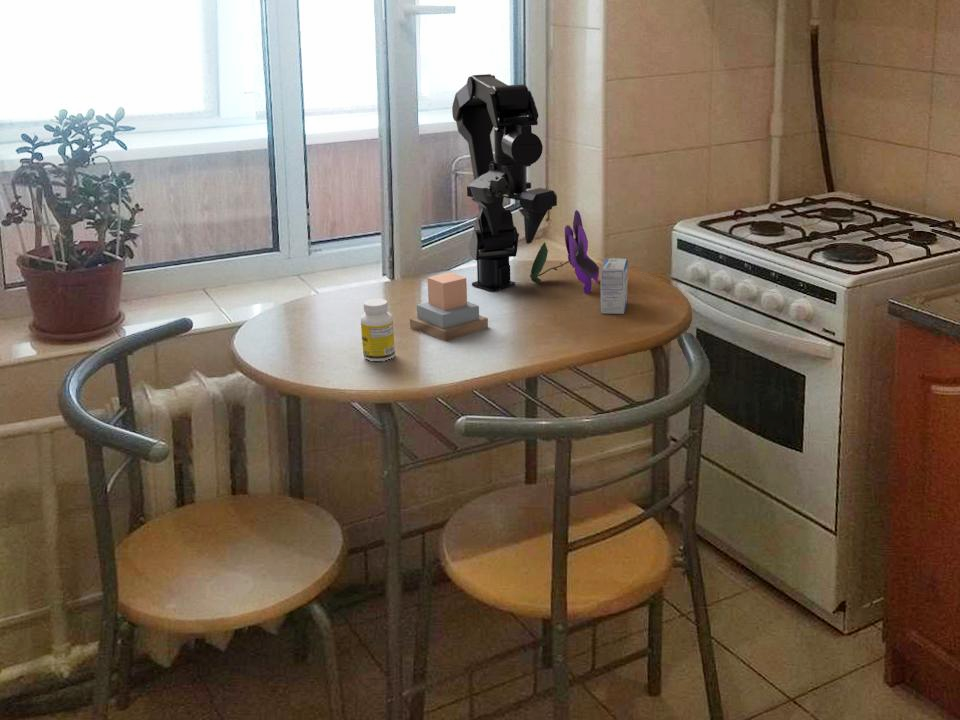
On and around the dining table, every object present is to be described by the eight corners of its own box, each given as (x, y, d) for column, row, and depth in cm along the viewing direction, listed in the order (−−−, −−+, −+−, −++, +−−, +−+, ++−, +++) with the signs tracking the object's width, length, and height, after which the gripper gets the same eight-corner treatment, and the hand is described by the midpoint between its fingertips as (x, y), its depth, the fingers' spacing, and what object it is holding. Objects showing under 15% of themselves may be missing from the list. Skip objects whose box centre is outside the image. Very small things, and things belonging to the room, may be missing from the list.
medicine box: (624, 315, 206) (625, 270, 203) (600, 314, 207) (600, 269, 204) (627, 302, 214) (628, 258, 211) (604, 301, 215) (604, 257, 211)
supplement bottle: (363, 352, 192) (359, 297, 188) (395, 350, 192) (391, 296, 188) (363, 363, 186) (359, 307, 183) (395, 361, 187) (392, 306, 183)
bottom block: (410, 331, 203) (409, 318, 202) (452, 318, 209) (451, 306, 208) (445, 344, 196) (445, 331, 195) (488, 331, 202) (487, 318, 201)
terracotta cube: (428, 304, 202) (427, 277, 200) (451, 298, 204) (450, 272, 203) (444, 310, 198) (443, 283, 196) (467, 304, 201) (466, 278, 199)
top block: (417, 317, 202) (416, 304, 201) (453, 308, 207) (452, 295, 206) (443, 328, 196) (442, 315, 195) (479, 319, 201) (478, 305, 200)
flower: (537, 319, 221) (596, 293, 215) (502, 252, 219) (561, 224, 213) (555, 297, 234) (612, 272, 228) (522, 234, 232) (579, 207, 226)
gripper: (443, 155, 205) (446, 238, 211) (513, 168, 192) (515, 256, 197) (488, 147, 212) (490, 227, 217) (558, 159, 199) (559, 244, 204)
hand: (511, 238), depth 209 cm, fingers open, 9 cm apart
